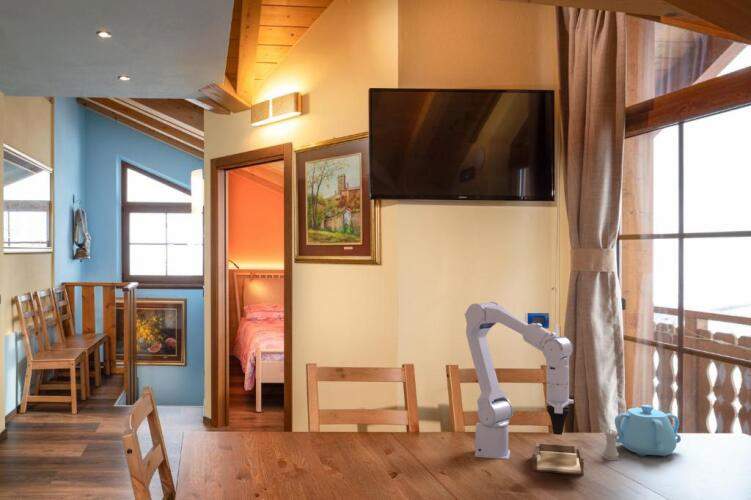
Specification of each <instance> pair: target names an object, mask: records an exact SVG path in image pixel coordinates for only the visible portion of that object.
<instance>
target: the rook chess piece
mask: <svg viewBox="0 0 751 500" xmlns="http://www.w3.org/2000/svg"><path fill="white" fill-rule="evenodd" d="M616 433H617V430H614V429H612V430H611V429H606V432H605V433H604V435H605V436H606V438H605V440H606V445H605V448H604V450H603V452H602V458H603V459H605V460H607V461H608V460H609V461H618V460H620V457H619V456H620V454H619V452H618V450H617V445H616V443H617V442H616V439H615V437H616V436H617V434H616ZM617 437H618V436H617Z"/></svg>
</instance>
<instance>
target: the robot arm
mask: <svg viewBox="0 0 751 500" xmlns="http://www.w3.org/2000/svg"><path fill="white" fill-rule="evenodd" d="M464 318H465V322H466V327H465V328H466V329H465V335H466V339H467V343H468V347H469V351H470V353H471V359H472V362H473V366H474V369H475V373H476V377H477V381H478V385H479V389H480V395H479V396H478V398H477V401H476V402H477V417H478V419H479V421H480V422H476V424H475V435H474V437H475V439H474V440H475V442H474V449H475V452H474V453H475V455H474V456H475V457H477V458H490V459H497V460H498V459H502V460H509V459H510V457H511V456H510V455H511V449H509V423H510V419H511V418H512V417H513V415H514V407H513V405H512V402H510V400H509V397H508V396H507V395H508V394H507V393H506V392H505V391H504V390H502V389H501V388H500V384H499V380H498V377H497V374H496V369H495V366H494V362H493V358H492V355H491V352H490V347H489V344H488V340H487V335H488V334H489V332H490V330H491V329H492V328H493V327H494V326H495V325H496V324H498V323H499V324H501V325H503V326H505V327H507V328H508V329H511V330H512V331H515V332H516V333H519V334H520V335H522V340H523V341H524V342H526V343H527V344H529V345H531V346H532V347H534V348H535V349H537V350H539V351H540V352H542V355H543V356H544V358H545V363H546V398H545V402H546V403H547V404H548V405H546V410H547V413H548V415H549V419H550V421H551V429H552V432H553V435H558V436H559V435H560V436H561V435H563V433H564V432H563V431H564V425H565V422H566V420H567V416H568V414H569V412H570V410H569V409H570V407H569V405H570V404H574V399H571V398H570V357H571V356H572V355H573V352H574V346H573V343H572V341H571V340H570V339H569V338H568V337H567V336H563V335H561V336H560V335H559V336H558V335H557V333H556V332H553V331H552V332H551V331H549V330H548V329H546V328H544V327H543V324H542V323H539V322H537V323H535V322H531V323H527V322H526V321H524V320H522V319H521V318H520V317H518V316H517V315H516V314H514V313H513V312H511V311H509V310H508V309H506V308H505V306H504V305H501V304H499V303H498V302H495V301H489V302H482V303H472V304H470V305H469V306H468V308H467V309H466V311H465V313H464Z"/></svg>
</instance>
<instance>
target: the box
mask: <svg viewBox="0 0 751 500" xmlns="http://www.w3.org/2000/svg"><path fill="white" fill-rule="evenodd" d="M540 451H550V452H562V453H574V454H576V455H577V458H579V463H580V468H581V473H574V472H563V471H551V470H540V469H537V455H540ZM584 461H585V459H584V454H583V449H582V445H577V448H575V444H573V445H572V444H563V443H562V444H561V443H551V442H548V443H547V442H539V445H537V443H536V442H534V441H533V442H532V471H533V472H543V473H552V474H553V473H554V474H555V473H557V474H566V475H567V474H568V475H575V476H576V475H579V476H584V475H585V473H584V472H585V470H584V469H585V467H584V466H585V465H584Z"/></svg>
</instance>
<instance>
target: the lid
mask: <svg viewBox="0 0 751 500" xmlns="http://www.w3.org/2000/svg"><path fill="white" fill-rule="evenodd" d="M537 469H540V470H551V471H563V472H574V473H581V468H580V463H579V458H577V455H576V454H574V453H562V452H550V451H540V455H537Z"/></svg>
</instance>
